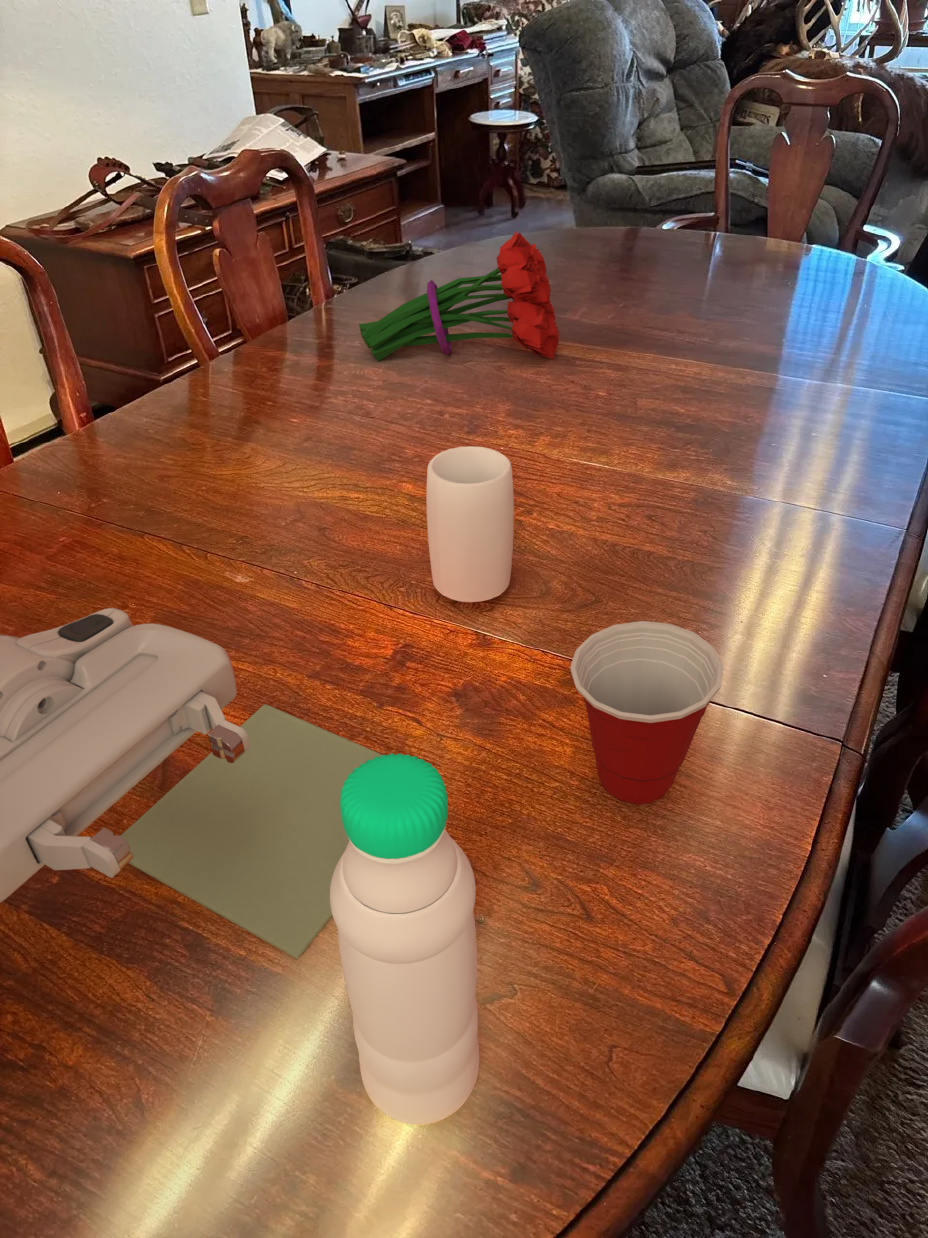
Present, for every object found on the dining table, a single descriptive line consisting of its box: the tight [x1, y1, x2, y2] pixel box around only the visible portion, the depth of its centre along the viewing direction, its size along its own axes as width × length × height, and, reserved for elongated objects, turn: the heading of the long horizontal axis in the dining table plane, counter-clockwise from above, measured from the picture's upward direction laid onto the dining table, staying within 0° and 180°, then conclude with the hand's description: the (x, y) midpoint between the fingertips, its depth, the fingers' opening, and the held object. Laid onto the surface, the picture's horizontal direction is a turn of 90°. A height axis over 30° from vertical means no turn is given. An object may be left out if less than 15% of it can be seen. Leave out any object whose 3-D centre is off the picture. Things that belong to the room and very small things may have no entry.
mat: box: [119, 703, 383, 960], centre depth 71 cm, size 18×18×1 cm
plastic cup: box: [569, 620, 724, 805], centre depth 70 cm, size 11×11×12 cm
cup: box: [425, 445, 515, 603], centre depth 90 cm, size 8×8×14 cm
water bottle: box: [330, 752, 481, 1126], centre depth 48 cm, size 7×7×25 cm
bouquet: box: [358, 230, 560, 362], centre depth 139 cm, size 20×16×30 cm
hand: (184, 800), depth 52 cm, fingers open, 8 cm apart
